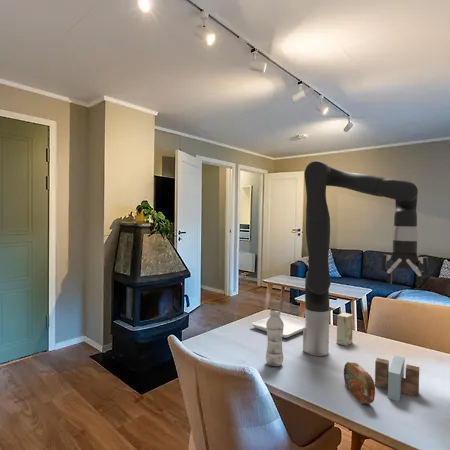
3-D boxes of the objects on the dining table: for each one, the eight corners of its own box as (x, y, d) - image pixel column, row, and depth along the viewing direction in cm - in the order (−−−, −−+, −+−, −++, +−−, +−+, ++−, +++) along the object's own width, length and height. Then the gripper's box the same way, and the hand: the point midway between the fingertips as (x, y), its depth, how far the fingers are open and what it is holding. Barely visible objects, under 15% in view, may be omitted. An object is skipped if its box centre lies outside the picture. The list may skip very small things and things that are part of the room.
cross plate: (399, 401, 97) (399, 374, 97) (387, 398, 99) (388, 371, 99) (403, 381, 109) (404, 357, 109) (393, 378, 110) (394, 355, 110)
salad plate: (286, 342, 143) (286, 334, 143) (250, 329, 158) (250, 322, 158) (313, 331, 157) (313, 323, 157) (277, 320, 173) (278, 313, 172)
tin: (342, 383, 108) (343, 357, 107) (351, 382, 108) (352, 357, 108) (366, 410, 93) (366, 380, 92) (376, 409, 93) (377, 380, 93)
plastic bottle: (284, 362, 123) (285, 308, 122) (281, 370, 116) (282, 313, 116) (267, 359, 125) (268, 306, 124) (263, 367, 118) (264, 311, 118)
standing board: (374, 385, 106) (375, 361, 106) (376, 381, 108) (377, 357, 108) (418, 397, 99) (418, 371, 99) (418, 392, 102) (419, 367, 102)
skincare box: (345, 346, 138) (346, 317, 137) (336, 343, 141) (336, 315, 141) (352, 342, 142) (353, 314, 142) (343, 339, 145) (343, 312, 145)
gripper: (429, 239, 115) (427, 285, 116) (384, 237, 123) (383, 281, 123) (428, 240, 109) (427, 289, 109) (381, 238, 117) (380, 284, 117)
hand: (403, 285), depth 116 cm, fingers open, 8 cm apart
